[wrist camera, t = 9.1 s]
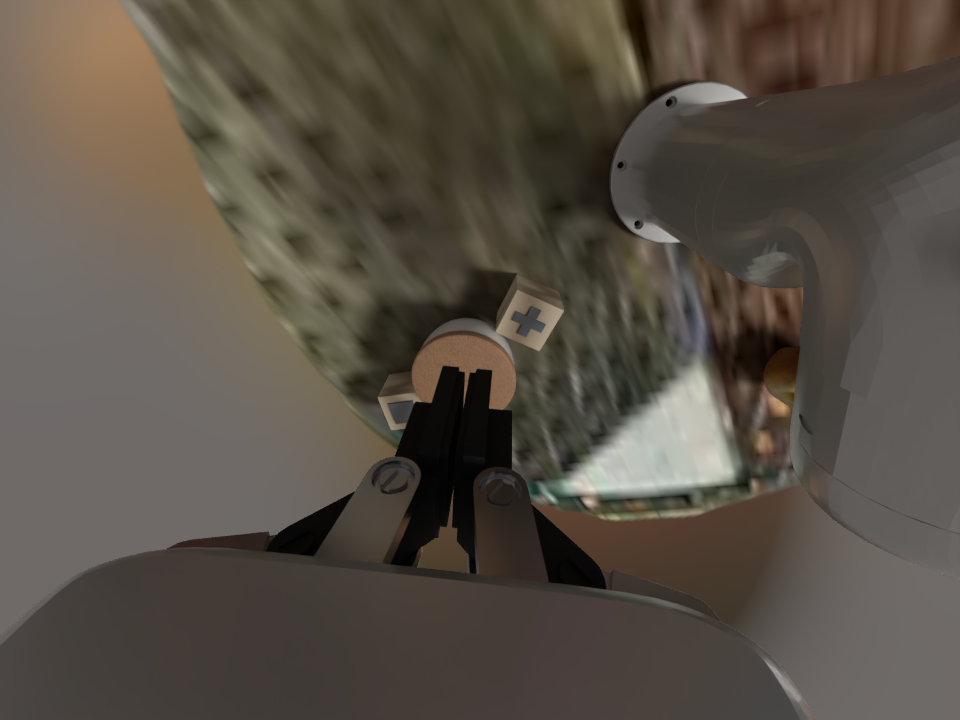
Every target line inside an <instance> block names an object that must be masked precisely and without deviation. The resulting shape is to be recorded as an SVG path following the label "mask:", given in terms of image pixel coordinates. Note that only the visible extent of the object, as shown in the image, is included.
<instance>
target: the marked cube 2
mask: <svg viewBox="0 0 960 720" xmlns="http://www.w3.org/2000/svg"><path fill="white" fill-rule="evenodd" d="M563 311H564V309H563V305H562V302H561V298H560V295H559V292H557V291H555V290H553V289H550V288H548V287H546V286H544V285H542V284H540V283H537V282H535V281H533V280H531V279H529V278H526V277H524V276H522V275H520V274H518V273H517V274H516V276H515V278H514V280H513V282H512V284H511V286H510V288H509V290H508V292H507V294H506V296H505V298H504V300H503V302H502V304H501V306H500V308H499V310H498V312H497V320H496V331H495V332H496V333H498V334H501V335H503V336H505V337H508V338H510V339H512V340H515V341H517V342H519V343H522V344H524V345H526V346H529V347H531V348H533V349H536V350H538V351H540V349H541V348H542V346H543V344H544V343H545V341H546V339H547V338H548V336H549V334H550V333H551V331H552V330H553V328H554V326H555V325H556V323H557V321H558V320H559V318H560V316H561V315H562V313H563Z"/></svg>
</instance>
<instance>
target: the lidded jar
mask: <svg viewBox="0 0 960 720" xmlns="http://www.w3.org/2000/svg"><path fill="white" fill-rule="evenodd" d="M495 331H496V328H495V327H493V326H492V325H490V324H488V323H486V322H484V321H482V320H479V319H474V318H459V319H455V320H451V321H449V322H446V323H444V324H442V325H441V326H439V327H438V328H437V329H436V330H434V331H433V332H432V333H431V334H430V335H429V337H428V338H427V339H426V341H425V342H424V344H423V345H422V347H421V349H420V350H419V352H418V354H417V356H416V358H415V360H414V362H413V366H412V371H411V378H412V384H413V388H414V390H415V392H416V394H417V396H418V397H419V399H420V400H421V401H422V402H427V403H432V400H433V396H434V393H435V390H436V386H437V383H438V380H439V376H440V373H441V370H442V367H443V366H453V367H459V371H461V372H465V385H464V402H465V396H466V391H467V385H468V380H469V374H470V372H472V373H476V369H485V370H492V381H491V393H490V404H489V409H500V410H503V409H504V408H505V407H506V406H507V405H508V403H509V402H510V400H511V399H512V397H513V395H514V391H515V388H516V372H515V366H514V358H513V355H512V351H511V348H510V346H509V344H508V342H507V340H506V339H505V338H504V336H503V335H501V334H498V333H496V332H495ZM463 407H464V405H463Z"/></svg>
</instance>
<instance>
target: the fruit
mask: <svg viewBox="0 0 960 720" xmlns="http://www.w3.org/2000/svg"><path fill="white" fill-rule="evenodd" d="M799 353H800V347H795V348H792V347H784V348H781V349H780V350H778V351H777V352H776V353H775V354H774V355H773V356H772V357H771V358H770V360H769V361H768V362H767V364H766V367H765V369H764V382H765V386H766V388H767V390H768V391H769V392H770V394H771V395H772V396H774V397H775V398H777V399H778V400H780V401H781V402H783V403H784V404H786V405H787V406H789V407H790V408H793V400H794V392H795V384H796V377H797V369H798V361H799Z"/></svg>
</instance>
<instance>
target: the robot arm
mask: <svg viewBox="0 0 960 720" xmlns="http://www.w3.org/2000/svg"><path fill="white" fill-rule="evenodd" d="M668 99H669V100H670V101H671V103H670V105H669V106H668V107H667V106H666V101H667V100H668ZM619 162H622V167H621V168H618V166H617V165H618V163H619ZM609 190H610V198H611V201H612V204H613V207H614V210H615V211H616V213H617V215H618V217H619V219H620V220H621V221H622V222H623V223H624V224H625V226H626V227H627V228H628V229H630V230H631V231H632V232H633V233H635V234H636V235H638V236H640V237H642V238H644V239H646V240H650V241H653V242H656V243H668V244H670V243H679V242H682V243H683V244H685V245H686V246H688V247H689V248H691V249H692V250H694V251H695V252H697V253H698V254H700V255H701V256H703V257H704V258H706V259H707V260H709V261H711V262H712V263H714V264H715V265H717V266H718V267H720V268H722V269H724V270H725V271H727V272H728V273H730V274H731V275H733V276H735V277H737V278H739V279H741V280H743V281H745V282H748V283H750V284H754V285H757V286H762V287H768V288H798V287H803V312H802V320H801V328H800V336H799V342H800V353H799V361H798V369H797V377H796V384H795V392H794V400H793V408H792V420H791V427H790V452H791V459H792V463H793V466H794V469H795V472H796V475H797V477H798V479H799V481H800V483H801V484H802V486H803V488H804V489H805V491H806V492H807V493H808V495H809V496H810V498H812V500H813V501H814V502H815V503H816V504H817V505H818V506H819V507H820V508H821V509H822V510H823V511H824V512H825V513H827V514H828V515H829V516H830V517H831V518H832V519H833V520H835V521H836V522H837V523H839V524H840V525H841V526H843V527H844V528H846V529H847V530H849V531H850V532H852V533H854V534H855V535H857V536H858V537H860V538H862V539H863V540H865V541H867V542H868V543H870V544H873V545H874V546H876V547H878V548H880V549H882V550H884V551H886V552H888V553H890V554H892V555H895V556H897V557H899V558H901V559H904V560H906V561H908V562H911V563H913V564H916V565H918V566H921V567H923V568H926V569H929V570H932V571H935V572H937V573H940V574H943V575H946V576H948V577H951V578H955V579H958V580H960V56H958V57H954V58H951V59H948V60H945V61H942V62H938V63H935V64H931V65H927V66H924V67H920V68H917V69H913V70H909V71H906V72H902V73H898V74H893V75H889V76H885V77H880V78H876V79H871V80H865V81H859V82H853V83H847V84H840V85H834V86H827V87H820V88H814V89H808V90H801V91H794V92H786V93H779V94H772V95H765V96H758V97H751V98H749V97H747V96H746V95H745V94H744V93H743V92H742V91H740V90H738V89H736V88H734V87H732V86H730V85H728V84H723V83H718V82H713V81H711V82H695V83H691V84H687V85H683V86H680V87H678V88H675V89H672V90H670V91H668V92H666V93H664V94H663V95H661V96H659V97H658V98H656V99H654V100H653V101H652V102H651V103H649V104H648V105H647V106H646V107H645V108H643V109H642V110H641V111H640V112H639V113H638V115H637V116H636V117H635V118H634V119H633V120H632V121H631V123H630V124H629V125H628V127H627V128H626V130H625V132H624V133H623V135H622V136H621V138H620V140H619V142H618V145H617V147H616V149H615V151H614V154H613V158H612V162H611V166H610V173H609ZM637 220H638V221H639V223H638V224H637V225H634V223H635V222H636V221H637ZM491 381H492V370H485V369H476V373H472V372H470V374H469V380H468V385H467V391H466V396H465V402H464V385H465V372H461V371H459V367H453V366H443V367H442V370H441V373H440V376H439V380H438V383H437V386H436V390H435V393H434V396H433V400H432V403H427V402H417V401H416V402H415V403H414V405H413V408H412V411H411V413H410V416H409V419H408V422H407V424H406V427H405V430H404V433H403V435H402V438H401V441H400V444H399V446H398V449H397V452H396V455H395V457H390V458H386V459H383V460H380V461H379V462H377V463H376V464H374V465H373V466H372V467H371V469H369V471H368V472H367V474H366V475H365V477H364V478H363V480H362V481H361V483H360V485H359V486H358V488H357V489H356V491H355V492H353V493H351V494H349V495H347V496H345V497H343V498H341V499H340V500H338V501H336V502H334V503H332V504H330V505H328V506H326V507H324V508H323V509H320V510H319V511H317V512H315V513H313V514H311V515H309V516H307V517H305V518H304V519H301V520H300V521H298V522H296V523H294V524H292V525H290V526H288V527H287V528H285V529H284V530H282V531H281V532H279V533H278V534H277V535H272V536H270V534H269V532H259V533H250V534H241V535H231V536H221V537H212V538H202V539H193V540H187V541H183V542H180V543H177V544H175V545H173V546H171V547H169V548H167V549H163V550H155V551H149V552H143V553H139V554H135V555H130V556H126V557H122V558H118V559H115V560H112V561H109V562H106V563H103V564H100V565H97V566H95V567H92V568H90V569H87V570H85V571H83V572H81V573H79V574H77V575H75V576H74V577H72V578H70V579H69V580H67V581H66V582H64V583H63V584H61V585H60V586H58V587H57V588H56V589H55V590H53V591H52V592H51V593H49V594H48V595H46V596H45V597H44V598H43V599H42V600H40V601H39V602H38V603H37V604H35V605H34V606H33V607H32V608H31V609H30V610H28V611H27V612H26V613H25V614H24V615H23V616H22V617H20V618H19V619H18V620H17V621H16V622H15V623H14V624H12V625H11V626H10V627H9V628H8V629H7V630H6V631H5V632H4V633H3V634H1V635H0V720H816V718H815V716H814V715H813V713H812V711H811V710H810V708H809V707H808V705H807V703H806V702H805V700H804V698H803V697H802V695H801V694H800V692H799V691H798V690H797V688H796V686H795V685H794V684H793V682H792V681H791V679H790V678H789V677H788V675H787V674H786V673H785V672H784V670H783V669H782V668H781V667H780V666H779V664H778V663H777V662H776V661H775V660H774V659H773V658H772V657H771V656H770V655H769V654H768V653H767V652H766V651H765V650H763V649H762V648H761V647H760V646H759V645H758V644H756V643H755V642H753V641H752V640H750V639H749V638H748V637H746V636H745V635H743V634H741V633H740V632H738V631H736V630H735V629H733V628H731V627H730V626H728V625H726V624H724V623H722V622H721V621H720V619H719V618H718V617H717V615H716V614H715V613H714V611H713V610H712V609H711V608H710V607H709V606H708V605H706V604H705V603H704V602H703V601H702V600H700V599H698V598H696V597H694V596H692V595H689V594H686V593H683V592H680V591H678V590H675V589H671V588H669V587H666V586H662V585H660V584H656V583H654V582H650V581H648V580H645V579H641V578H639V577H636V576H632V575H629V574H627V573H623V572H620V571H618V570H615V569H613V570H612V572H611V573H610V572H607V571H604V570H601V569H600V567H599V566H598V565H597V564H596V563H595V562H594V561H593V559H592V558H590V557H589V556H588V555H587V554H586V553H585V552H584V551H583V550H581V548H579V547H578V546H577V545H576V544H575V543H574V542H573V541H572V540H571V539H569V538H568V537H567V536H566V535H565V534H564V533H563V532H562V531H560V530H559V529H558V528H557V527H556V526H555V525H554V524H553V523H552V522H551V521H549V520H548V519H547V518H546V517H545V516H544V515H543V514H542V513H541V512H540V511H539V510H537V509H536V508H535V507H534V506H533V505H532V504H531V500H530V496H529V491H528V487H527V485H526V482H525V480H524V479H523V478H522V477H521V476H520V475H519V474H518V473H516V472H515V471H513V470H512V411H510V410H500V409H489V404H490V393H491ZM463 405H464V407H463ZM453 488H454V494H453ZM452 494H453V495H454V496H453V520H452V521H453V522H452V527H453V528H457V542H458V543H459V544H460V545H461V546H462V548H463V549H464V550H465V551H466V552H467V553H468V573H462V572H454V571H445V570H435V569H426V568H418V567H417V566H418V563H419V561H420V558H421V555H422V550H423V546H424V545H426V544H427V543H429V542H430V541H431V540H433V539H434V538H438V535H439V530H440V526H441V527H447V522H448V517H449V511H450V505H451V499H452Z"/></svg>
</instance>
